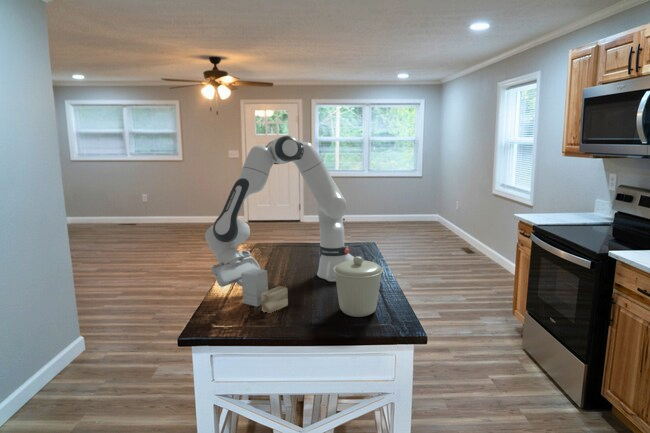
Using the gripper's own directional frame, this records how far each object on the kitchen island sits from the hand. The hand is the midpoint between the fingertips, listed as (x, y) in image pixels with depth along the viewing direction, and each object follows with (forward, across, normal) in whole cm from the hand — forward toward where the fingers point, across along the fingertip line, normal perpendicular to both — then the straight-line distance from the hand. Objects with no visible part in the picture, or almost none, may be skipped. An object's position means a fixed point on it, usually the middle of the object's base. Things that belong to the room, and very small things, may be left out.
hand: (248, 288), depth 170 cm
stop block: (+14, 0, -7) cm, 15 cm away
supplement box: (+7, 0, 0) cm, 7 cm away
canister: (+33, +16, -26) cm, 45 cm away
